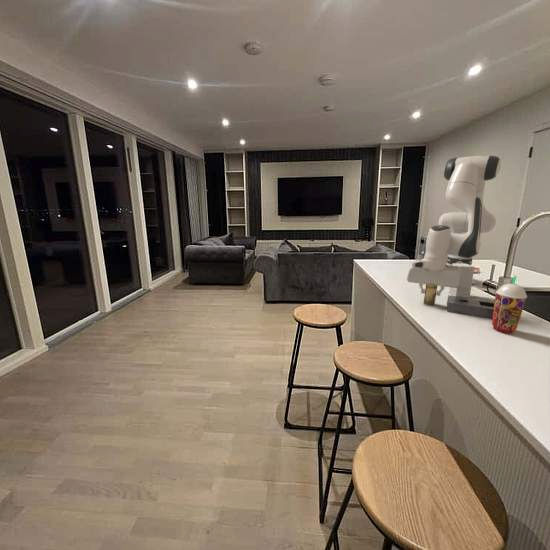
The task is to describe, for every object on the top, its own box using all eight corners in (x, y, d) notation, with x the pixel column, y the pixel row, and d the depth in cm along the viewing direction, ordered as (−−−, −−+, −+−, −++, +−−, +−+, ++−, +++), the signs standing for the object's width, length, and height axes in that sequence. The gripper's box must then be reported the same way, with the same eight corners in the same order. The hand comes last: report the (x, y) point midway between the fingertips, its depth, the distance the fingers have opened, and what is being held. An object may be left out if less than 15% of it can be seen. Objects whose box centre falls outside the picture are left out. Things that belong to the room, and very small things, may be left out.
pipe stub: (423, 301, 129) (426, 280, 126) (434, 303, 127) (438, 282, 124) (422, 304, 125) (425, 283, 123) (434, 306, 123) (437, 284, 120)
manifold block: (446, 303, 126) (448, 295, 125) (502, 312, 117) (504, 302, 116) (447, 311, 117) (448, 302, 116) (507, 321, 107) (510, 311, 106)
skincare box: (469, 299, 132) (475, 266, 128) (454, 298, 134) (459, 266, 130) (462, 293, 140) (467, 263, 136) (447, 292, 142) (452, 262, 138)
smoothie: (510, 337, 95) (524, 280, 90) (483, 328, 102) (494, 274, 97) (523, 332, 98) (536, 277, 93) (496, 323, 106) (507, 272, 100)
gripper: (462, 265, 119) (457, 295, 122) (409, 260, 129) (406, 288, 132) (463, 268, 114) (458, 300, 117) (408, 262, 123) (404, 292, 127)
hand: (430, 294), depth 125 cm, fingers open, 5 cm apart
